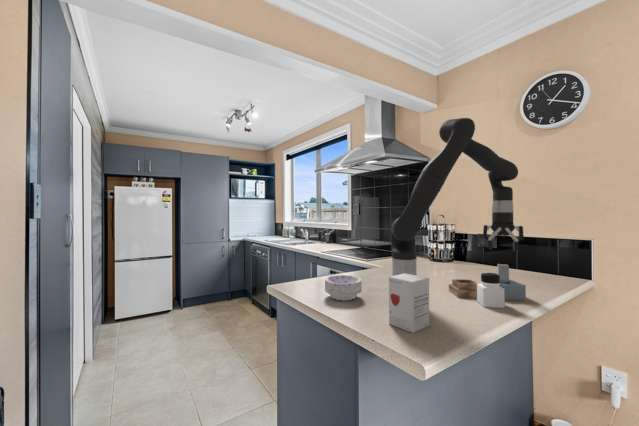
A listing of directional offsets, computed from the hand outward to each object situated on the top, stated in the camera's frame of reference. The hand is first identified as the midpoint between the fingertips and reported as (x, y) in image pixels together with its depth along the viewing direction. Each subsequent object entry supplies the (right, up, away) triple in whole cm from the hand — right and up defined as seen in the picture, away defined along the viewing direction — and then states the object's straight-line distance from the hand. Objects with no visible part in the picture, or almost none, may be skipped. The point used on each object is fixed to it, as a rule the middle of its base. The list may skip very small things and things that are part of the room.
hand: (502, 250), depth 117 cm
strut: (0, -18, -1) cm, 18 cm away
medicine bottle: (-12, -19, -12) cm, 26 cm away
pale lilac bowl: (-67, -20, -2) cm, 70 cm away
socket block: (-15, -19, +2) cm, 24 cm away
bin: (0, -19, 0) cm, 19 cm away
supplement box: (-50, -19, -31) cm, 62 cm away
